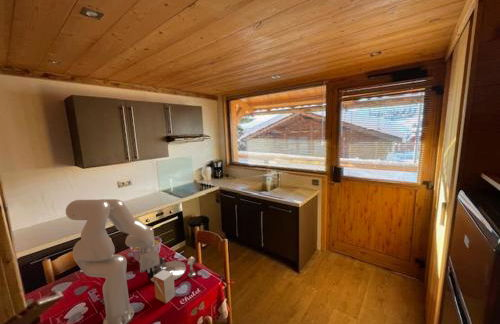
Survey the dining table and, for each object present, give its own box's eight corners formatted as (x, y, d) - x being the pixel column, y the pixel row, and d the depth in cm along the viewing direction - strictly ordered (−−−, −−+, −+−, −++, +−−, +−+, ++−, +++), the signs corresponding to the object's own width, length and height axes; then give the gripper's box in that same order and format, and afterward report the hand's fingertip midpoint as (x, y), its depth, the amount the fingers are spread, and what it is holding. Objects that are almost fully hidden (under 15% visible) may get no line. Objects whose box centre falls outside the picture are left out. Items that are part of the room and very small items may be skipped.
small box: (155, 298, 113) (153, 275, 112) (165, 290, 119) (163, 269, 117) (165, 304, 109) (163, 280, 108) (175, 295, 115) (173, 273, 113)
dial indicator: (197, 274, 131) (195, 256, 130) (190, 278, 128) (188, 260, 127) (193, 271, 135) (191, 254, 133) (186, 275, 132) (185, 257, 130)
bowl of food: (168, 255, 155) (167, 240, 153) (142, 270, 138) (140, 254, 136) (152, 248, 165) (150, 234, 164) (125, 262, 148) (123, 246, 147)
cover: (168, 273, 131) (168, 266, 130) (157, 279, 126) (156, 271, 125) (163, 269, 136) (163, 261, 135) (152, 274, 131) (151, 267, 130)
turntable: (192, 271, 134) (191, 262, 134) (158, 289, 120) (157, 279, 119) (176, 258, 149) (175, 250, 148) (144, 273, 135) (143, 264, 134)
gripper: (136, 255, 117) (139, 287, 119) (163, 245, 127) (166, 274, 130) (131, 251, 122) (135, 281, 124) (158, 241, 133) (160, 269, 135)
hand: (150, 277), depth 127 cm, fingers closed
